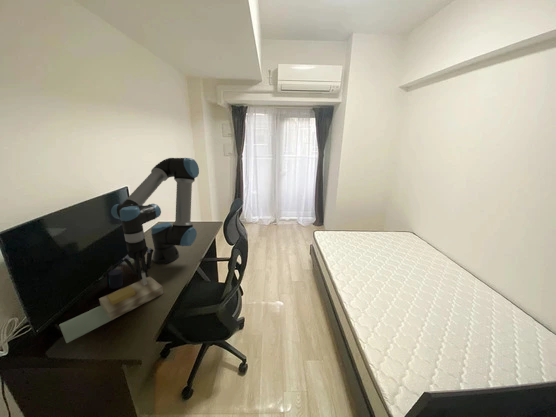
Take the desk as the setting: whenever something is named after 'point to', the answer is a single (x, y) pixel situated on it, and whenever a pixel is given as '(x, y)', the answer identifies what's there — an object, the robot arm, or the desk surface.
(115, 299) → the yellow flat block
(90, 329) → the mat
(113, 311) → the deck
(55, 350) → the desk surface
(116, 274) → the speaker
